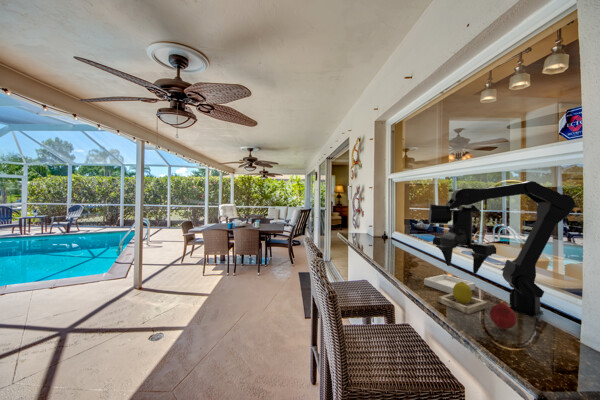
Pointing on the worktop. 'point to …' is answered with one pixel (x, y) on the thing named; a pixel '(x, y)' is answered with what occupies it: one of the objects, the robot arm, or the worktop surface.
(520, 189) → the robot arm
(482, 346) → the worktop surface
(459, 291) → the lemon
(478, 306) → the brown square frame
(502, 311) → the onion
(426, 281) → the dish
